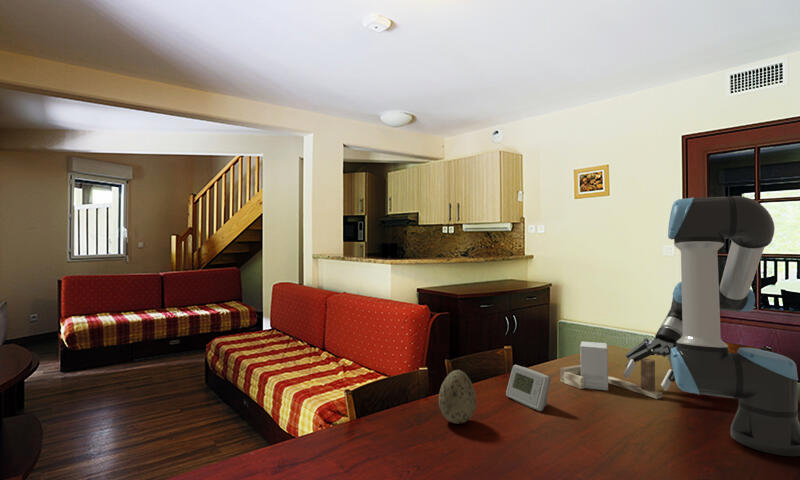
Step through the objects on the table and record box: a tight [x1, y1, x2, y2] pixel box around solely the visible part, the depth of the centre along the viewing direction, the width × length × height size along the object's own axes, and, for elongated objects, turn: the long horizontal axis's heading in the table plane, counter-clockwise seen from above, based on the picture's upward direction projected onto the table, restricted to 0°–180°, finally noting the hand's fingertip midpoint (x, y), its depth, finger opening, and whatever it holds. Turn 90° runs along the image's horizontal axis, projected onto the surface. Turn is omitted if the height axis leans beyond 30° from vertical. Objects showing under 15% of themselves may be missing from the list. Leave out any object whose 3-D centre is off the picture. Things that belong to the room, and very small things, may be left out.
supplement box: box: [579, 341, 609, 391], centre depth 157 cm, size 9×9×15 cm
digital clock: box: [505, 364, 551, 412], centre depth 140 cm, size 16×9×11 cm, turn 16°
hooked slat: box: [559, 358, 663, 400], centre depth 153 cm, size 28×18×12 cm, turn 26°
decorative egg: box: [438, 369, 477, 425], centre depth 125 cm, size 11×11×15 cm
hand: (643, 382), depth 146 cm, fingers open, 13 cm apart
